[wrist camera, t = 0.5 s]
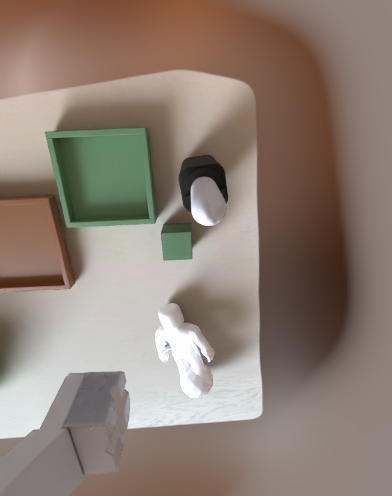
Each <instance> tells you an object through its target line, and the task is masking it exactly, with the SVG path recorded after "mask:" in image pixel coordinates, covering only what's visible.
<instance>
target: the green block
mask: <svg viewBox="0 0 392 496" xmlns="http://www.w3.org/2000/svg"><path fill="white" fill-rule="evenodd" d="M161 241H162V251H163V260H164V261H165V260H186V259H192V235H191V223H182V224H163V228H162V231H161Z"/></svg>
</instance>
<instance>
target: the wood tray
mask: <svg viewBox="0 0 392 496" xmlns="http://www.w3.org/2000/svg"><path fill="white" fill-rule="evenodd" d="M74 284H75V281H74V277H73V272H72V268H71V264H70V259H69V255H68V251H67V247H66V242H65V238H64V234H63V229H62V225H61V221H60V217H59V212H58V208H57V204H56V199H55V195H46V196H25V197H3V198H0V292H17V291H38V290H59V289H71V287H72V286H73V285H74Z"/></svg>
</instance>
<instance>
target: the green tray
mask: <svg viewBox="0 0 392 496" xmlns="http://www.w3.org/2000/svg"><path fill="white" fill-rule="evenodd" d="M45 134H46V138H47V143H48V148H49V152H50V156H51V161H52V165H53V170H54V174H55V178H56V183H57V187H58V192H59V196H60V200H61V205H62V209H63V214H64V218H65V222H66V227H67V228H70V227H92V226H113V225H135V224H155V222H156V220H157V215H156V204H155V194H154V184H153V174H152V164H151V153H150V143H149V133H148V128H146V127H141V128H119V129H96V130H74V131H52V132H45Z"/></svg>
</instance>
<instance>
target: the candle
mask: <svg viewBox="0 0 392 496" xmlns="http://www.w3.org/2000/svg"><path fill="white" fill-rule="evenodd" d="M179 184H180V189H181V194H182V199H183V205H184V207H185V209H186V210H187V211H188V212H190V213H192V215H193V217H194V219H195V220H196V221H197V222H198V223H200V224H202V225H206V226H212V225H215V224H217V223H219V222H220V221H221V220H222V219H223V218H224V216H225V214H226V210H227V206H226V204H227V201H228V193H227V185H226V178H225V171H224V169H223V167H222V166H221V165H220V164H219V163H218V162H217V161H216V160H215V159H214V158H213V157H212V156H210V155H204V156H198V157H193V158H187V159H185V160H184V161H183V163H182V166H181V170H180V174H179Z"/></svg>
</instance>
